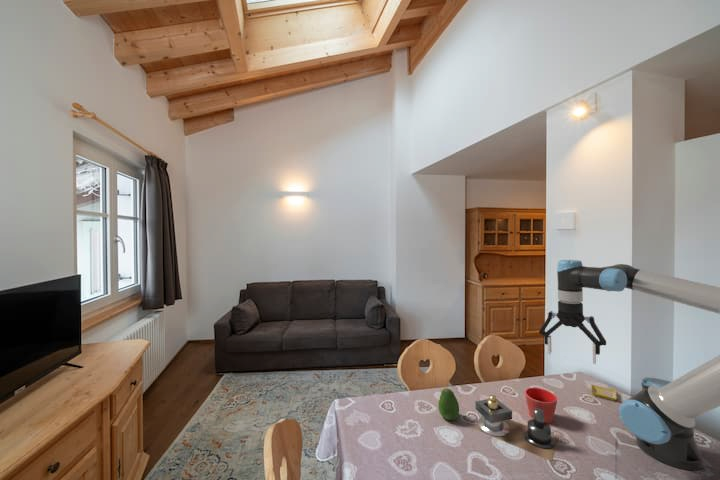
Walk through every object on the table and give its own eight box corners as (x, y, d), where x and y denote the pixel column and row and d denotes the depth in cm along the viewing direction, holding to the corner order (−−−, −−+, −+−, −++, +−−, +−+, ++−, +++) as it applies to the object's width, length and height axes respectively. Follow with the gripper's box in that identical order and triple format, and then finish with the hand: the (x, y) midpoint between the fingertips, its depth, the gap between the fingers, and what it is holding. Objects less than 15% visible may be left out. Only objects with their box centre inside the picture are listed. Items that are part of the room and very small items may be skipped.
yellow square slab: (616, 394, 130) (616, 390, 130) (617, 403, 123) (616, 398, 123) (591, 388, 135) (591, 384, 135) (591, 396, 129) (591, 392, 129)
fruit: (442, 410, 122) (441, 382, 122) (461, 417, 117) (461, 387, 117) (436, 420, 115) (435, 391, 115) (455, 428, 111) (455, 397, 110)
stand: (556, 438, 102) (555, 409, 102) (552, 453, 96) (551, 422, 96) (527, 427, 108) (527, 400, 108) (521, 440, 102) (521, 411, 102)
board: (558, 439, 103) (558, 437, 103) (551, 463, 92) (551, 461, 92) (486, 412, 120) (486, 410, 120) (473, 430, 109) (473, 428, 109)
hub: (513, 425, 110) (512, 395, 110) (504, 441, 102) (504, 408, 102) (483, 414, 117) (482, 385, 117) (473, 428, 109) (472, 397, 109)
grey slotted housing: (512, 419, 106) (511, 411, 106) (490, 423, 104) (490, 415, 104) (495, 405, 115) (495, 397, 115) (475, 408, 113) (475, 401, 113)
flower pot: (563, 429, 108) (562, 403, 108) (531, 426, 111) (530, 401, 110) (550, 411, 119) (550, 388, 119) (521, 409, 121) (521, 386, 121)
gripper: (614, 303, 102) (615, 363, 103) (534, 295, 119) (535, 346, 119) (614, 308, 97) (615, 371, 97) (529, 299, 113) (531, 352, 114)
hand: (571, 357), depth 108 cm, fingers open, 13 cm apart
